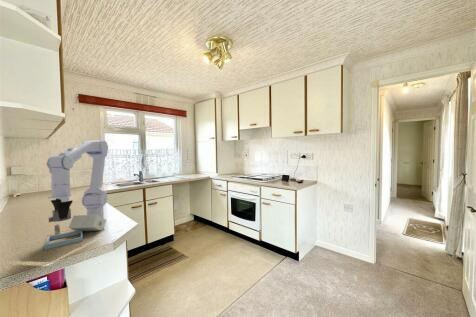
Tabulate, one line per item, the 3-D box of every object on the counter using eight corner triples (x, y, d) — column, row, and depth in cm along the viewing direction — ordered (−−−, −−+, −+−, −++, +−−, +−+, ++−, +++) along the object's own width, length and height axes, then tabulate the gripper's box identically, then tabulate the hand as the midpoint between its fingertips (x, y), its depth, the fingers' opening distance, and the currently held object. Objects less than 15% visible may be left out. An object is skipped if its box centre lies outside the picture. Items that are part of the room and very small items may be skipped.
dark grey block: (47, 220, 80) (47, 210, 80) (68, 216, 85) (68, 207, 85) (49, 223, 76) (49, 213, 76) (71, 218, 81) (71, 209, 81)
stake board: (47, 236, 87) (47, 222, 87) (76, 230, 93) (76, 217, 93) (45, 242, 80) (44, 228, 80) (76, 236, 86) (76, 222, 86)
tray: (48, 242, 80) (48, 236, 80) (82, 235, 87) (82, 229, 87) (44, 252, 72) (44, 245, 72) (82, 243, 79) (82, 237, 79)
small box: (97, 214, 88) (73, 215, 87) (93, 227, 85) (67, 228, 84) (106, 219, 95) (83, 220, 94) (103, 231, 92) (79, 232, 91)
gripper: (45, 184, 83) (45, 216, 83) (50, 186, 73) (51, 223, 73) (67, 182, 88) (67, 212, 88) (74, 184, 79) (75, 218, 79)
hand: (61, 217), depth 81 cm, fingers closed on dark grey block, 5 cm apart
